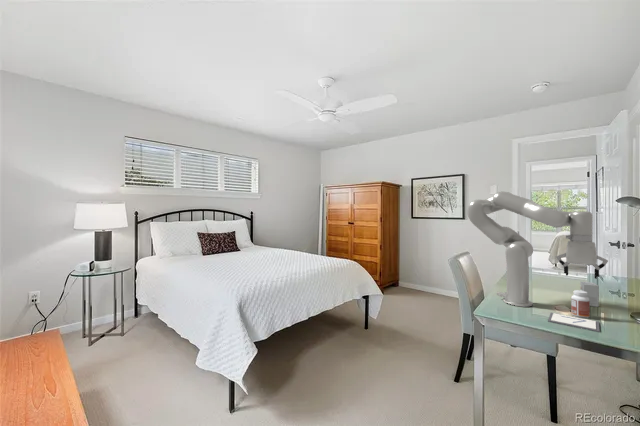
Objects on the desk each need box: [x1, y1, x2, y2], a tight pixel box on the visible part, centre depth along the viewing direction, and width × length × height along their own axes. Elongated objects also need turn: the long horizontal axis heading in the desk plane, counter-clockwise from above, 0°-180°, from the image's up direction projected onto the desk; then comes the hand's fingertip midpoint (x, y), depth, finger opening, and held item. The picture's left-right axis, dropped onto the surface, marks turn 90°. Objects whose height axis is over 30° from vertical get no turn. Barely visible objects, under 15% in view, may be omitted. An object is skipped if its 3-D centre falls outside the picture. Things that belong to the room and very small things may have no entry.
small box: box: [579, 281, 600, 308], centre depth 147 cm, size 8×6×10 cm
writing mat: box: [547, 312, 601, 333], centre depth 124 cm, size 16×13×1 cm
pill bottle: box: [570, 289, 591, 319], centre depth 131 cm, size 6×6×11 cm
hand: (581, 276), depth 131 cm, fingers open, 9 cm apart
